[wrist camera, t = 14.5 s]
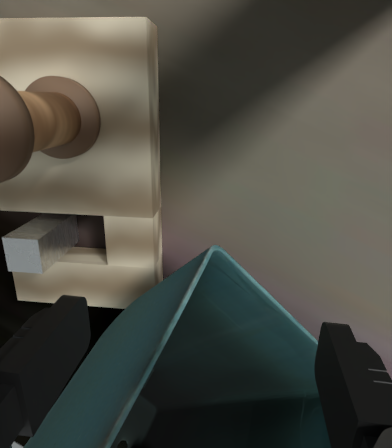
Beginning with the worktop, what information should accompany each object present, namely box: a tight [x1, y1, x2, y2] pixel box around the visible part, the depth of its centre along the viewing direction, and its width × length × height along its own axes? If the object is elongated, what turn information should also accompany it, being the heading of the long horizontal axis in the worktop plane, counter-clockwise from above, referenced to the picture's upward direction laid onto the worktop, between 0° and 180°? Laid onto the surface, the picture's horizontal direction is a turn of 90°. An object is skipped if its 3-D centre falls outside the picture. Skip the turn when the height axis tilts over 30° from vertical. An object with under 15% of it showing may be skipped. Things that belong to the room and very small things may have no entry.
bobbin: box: [0, 76, 101, 183], centre depth 26 cm, size 7×7×12 cm
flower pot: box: [24, 245, 331, 448], centre depth 32 cm, size 20×20×28 cm
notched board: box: [0, 17, 163, 309], centre depth 35 cm, size 28×16×4 cm, turn 179°
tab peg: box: [2, 213, 79, 274], centre depth 36 cm, size 4×4×8 cm
